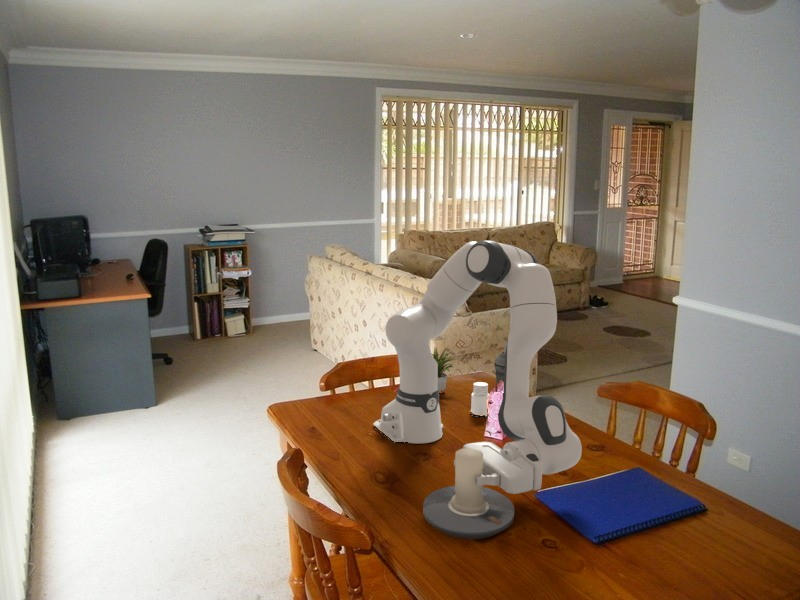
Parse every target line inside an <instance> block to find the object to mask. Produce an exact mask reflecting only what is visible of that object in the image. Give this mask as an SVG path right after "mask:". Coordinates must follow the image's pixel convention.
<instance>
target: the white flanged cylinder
mask: <svg viewBox="0 0 800 600" xmlns="http://www.w3.org/2000/svg"><path fill="white" fill-rule="evenodd" d="M454 458H455V459H454V460H455V466H454V467H455V469H454V471H455V472H454V473H455V477H454V479H455V480H454V483H455V484H454V486H455V495H454V496H453V497H452V499H451V505H452V507H453V509H455V510H456V511H459V512H462V513H468V514H472V513H478V512H481V511H483V510H484V509H485V508H486V499H485V498H484V497H483V496H482V495H483V487H484V485H481V486H479V485H478V484H476V483H475V476H476V475H480V474H483V453H482V452H481V451H479V450H477V449H472V448H465V449H463V448H460V449H458V450H456V451H455V457H454Z"/></svg>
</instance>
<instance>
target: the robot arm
mask: <svg viewBox="0 0 800 600" xmlns="http://www.w3.org/2000/svg"><path fill="white" fill-rule="evenodd" d="M551 275H552V274H551V272H550V270H549V269H548V268H547V267H546V266H544V265H542V264H540V262H539V260H538V259H537V257H536V256H535V255H534V254H532V253H530V252H529V251H528V250H524V249H521V248H519V247H516V246H515V245H512V244H506V243H501V242H497V241H494V240H487V239H486V240H480V241H472V240H471V241H468V242H466V243H465V244H464V245H462V247H460V248H459V249H457V251H455V252H454V253H453V255H451V256H450V257H449V258H448V259H447V260H446V262H445V263H444V264H443V265H442V266H441V268H440V269H439V270H438V271H437V272H436V273H435V275H434V276H433V277H432V278H431V279H430V281H429V282H428V283H427V285H426V291H425V292H424V295H423V296H422V298H420V300H419V301H418V302H417V303H415V304H413V305H411V306H409V307H406V308H403V309H400V310H397V312H395V313H394V314H393V315H392V316H391V317H390V318H389V319H388V320H387V322H386V324H385V329H384V331H385V335H386V338H387V340H388V342H389V343H390V344H391V345H392V346H393V348H394V349H395V351H396V354H397V359H398V365H399V387H395V388H394V390H393V393H396V395H395V398H394V399H393V400H391V401H390V402H389V403H387V404H386V405H384V406H383V407H382V410H381V415H380V419H377V420H376V421H374V422H373V423H372V425H374V426H376V427H377V428H378V429H379V430H380V431H382V432H383V433H384V434H385V435H386V436H388V437H389V438H390V439H391V440H392V441H394V442H393V443H395V442H404V443H405V442H408V443H407V444H428V443H434V442H436V441H439V440H440V439H441V438H442V437H443V436H442V435H443V429H444V424H443V423H442V418H441V408H440V402H439V401H440V394H439V389H438V364H437V362H436V360H435V359H434V358H433V355H432V354H433V353H432V349H431V346H430V343H431V340H434V339H436V338H438V337H439V336H441V335H442V334H443V333H444V332H445V331H446V330H447V329H448V328H449V326H450V324H451V321H452V320H453V318H454V316H455V315H456V313H457V312H458V311H459V309H460V308H461V307H462V306H463V305H464V303H465V302H466V301H467V300H468V299H469V298H470V297H471V296H472V295H473V293H474V292H476V290H477V288H479V286H480V285H481V284H482V283H485V284H488V285H491V286H494V287H498V288H506V290H507V291H508V294H509V295H508V296H509V311H510V322H509V324H510V325H509V332H508V337H507V338H508V339H507V340H506V353H505V371H504V393H503V398H502V400H501V403H500V406H499V410H498V415H497V417H498V419H497V420H498V424H499V427H500V429H501V431H502V433H503V434H504V435H505V436H506V437H507V438H509V439H511V440H514V441H509V442H506V443H505V444H504V445H503V446H502V448H501V447H499V446H498V445H496V444H495V443H493V442H491V441H476V442H469V443H465V444H464V445H463V446H462V449H465V448H472V449H477V450H479V451H481V452H482V453H483V474H480V475H476V476H475V483H476V484H478V485H479V486H481V485H483V486H494V487H495V486H497V487H499V488H500V489H502V490H503V491H504V492H506V493H508V494H511V495H516V494H518V495H519V494H521V493H522V494H523V493H526V492H530V491H540V490H541V488H542V483H543V481H542V480H543V475H553V474H557V473H560V472H563V471H567V470H569V469H571V468H573V467H574V466H576V464H578V462H579V461H580V460H581V457H582V452H583V451H582V449H583V447H582V442H581V440H580V437H579V436H578V435H577V434H576V433H575V432H573V430H572V429H571V428H570V425H569V424H568V422H567V419H566V414H565V410H564V407H563V406H562V404H561V402H560V401H559V400H558V399H557V398H556V397H553V396H552V395H549V394H543V395H536V396H530V395H529V393H530V391H529V389H530V367H531V363H532V360H533V358H534V357H535V355H536V354H537V353H538V351H540V349H541V348H542V347H544V346H545V345H546V344H547V343H548V342H549V341H550V340H551V339H552V338H553V336H554V335H555V333H556V330H557V324H558V311H557V309H558V308H557V302H556V299H557V298H556V293H555V288H554V283H553V279H552V276H551ZM431 353H432V354H431ZM529 396H530V397H529ZM379 421H380V422H379ZM442 428H443V429H442ZM385 435H384V436H385ZM386 436H385V437H386ZM389 438H388V439H389ZM390 439H389V440H390ZM391 440H390V441H391ZM392 441H391V442H392ZM453 466H454V467H455V459H454V460H453Z"/></svg>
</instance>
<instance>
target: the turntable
mask: <svg viewBox="0 0 800 600" xmlns="http://www.w3.org/2000/svg"><path fill="white" fill-rule="evenodd" d="M454 495H455V485H450V486H445V487H442V488H439V489H437V490H434V491H432V492H430V493H429V494H428V495H427V496H426V497H425V498H424V500H423V505H422V506H423V507H422V511H423V512H422V513H423V517H424V519H425V520H426V522H427V523H428V524H429V525H431V526H432V527H433V528H435V529H437V530H439V531H440V530H441V531H443V532H446V533H449V534H453V535H458V536H466V537H481V536H488V535H493V534H495V535H496V533H497V534H498V533H501V532H503V531H505V530H507V529H508V528H509V527H510V526H511V525H512V524H513V522H514V519H515V507H514V503H513V502H512V501H511V499H509V497H507V496H506V495H505V494H502V493H501V492H499V491H496V490H494V489H491V488H488V487H484V486H483V495H482V496H483V497H484V498H485V499H486V508H485V509H484V510H483V511H481V512H478V513H472V514H468V513H462V512H459V511H456V510H455V509H453V507H452V505H451V499H452V497H453V496H454ZM441 531H440V532H441ZM443 532H442V533H443ZM493 536H494V535H493Z"/></svg>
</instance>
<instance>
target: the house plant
mask: <svg viewBox="0 0 800 600" xmlns="http://www.w3.org/2000/svg"><path fill="white" fill-rule="evenodd" d="M446 350H447V348H445V349H444V350H443V351H442V352H441V353H440V356H439V352H438V348H437V347H433V353H432V352H431V354H432V357H433V358H434V359H435V360H436V362H437V364H438V389H439V391H441V390H444V389H445V390H446V385H447V380H448V377H449V376H448V375H449V374H448V373H445V371H448V372H449V373H450V369H449V368H455V365H454V363H448V362H451V361H454V360H455V361H456V360H457V358H453V357H455V354H453V355H449V354H450V353H451V352H452V351H453V350H452V349H451V350H449V351H448V352H446ZM445 352H446V353H445ZM457 355H459V354H456V356H457Z"/></svg>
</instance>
